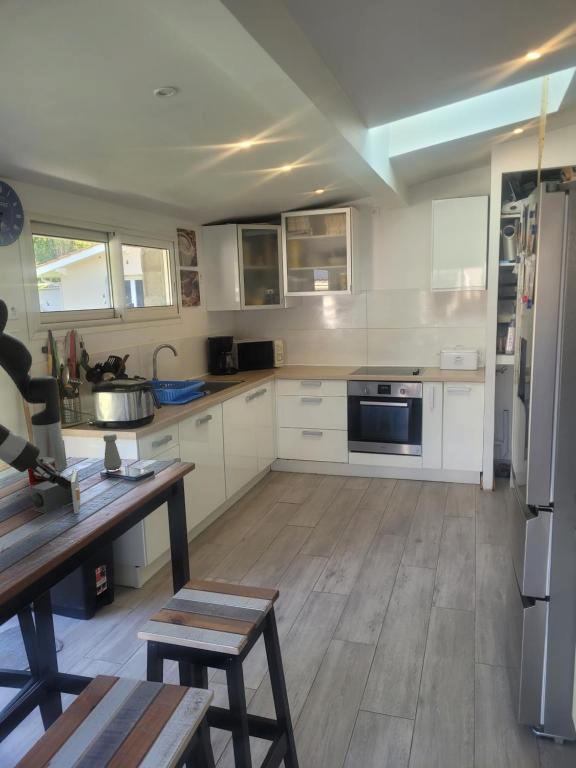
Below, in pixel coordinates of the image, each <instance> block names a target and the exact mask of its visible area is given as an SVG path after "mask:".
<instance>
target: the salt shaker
mask: <svg viewBox="0 0 576 768" xmlns="http://www.w3.org/2000/svg"><path fill="white" fill-rule="evenodd" d="M117 438H118V436H117V434H116V433H114V432H112V433H111V432H110V433H105V434H104V435H103V442H105V447H104V448H105V449H104V460H103V461H104V463H103V465H104V466H103V467H104V468H105V470H106V471H107V470H116V469H119V468H120V469H121V466H122V460H121V456H120V452H119V450H118V447H117V443H116V441H117Z"/></svg>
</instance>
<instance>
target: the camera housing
mask: <svg viewBox="0 0 576 768" xmlns="http://www.w3.org/2000/svg"><path fill="white" fill-rule="evenodd" d="M73 471H77V470H75V469H73V470H72V473H73ZM64 477H65V478H66V479H68V480H69V481H71V480H72V477H68V476H64ZM31 493H32V495H31V501H32V508H33V511H36V512H40V513H43V514H46V515H48V514H50V513H52V512H54V511H57V510H59V509H62V508H64V507H67V506H68V505H71V504H73V496H72V488H71V487H70V488H69V489H67V490H66V489H65V488H63V487H62V486H60V485H59V484H57V483H55V484H53V483H51V482H48V481H46V482H43V483H40V484H38V485H35V486H32V487H31V489H30V494H31Z"/></svg>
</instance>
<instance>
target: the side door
mask: <svg viewBox="0 0 576 768" xmlns="http://www.w3.org/2000/svg"><path fill="white" fill-rule="evenodd" d="M72 471H73V470H72ZM71 478H72V480H71V488H72V496H73V503H72V504H73V512H74V514H79V511H80V505H81V493H80V484H79V475H78V470H76V471H73V472H72V475H71Z"/></svg>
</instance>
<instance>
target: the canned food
mask: <svg viewBox="0 0 576 768" xmlns="http://www.w3.org/2000/svg"><path fill="white" fill-rule="evenodd" d="M42 458H43V459H44V460H46V462H47V463H49V464H50V465H52V466H53V467H54V468H55V461H54V458H51V457H42ZM39 459H40V460H41V458H39ZM55 469H56V468H55ZM27 473H28V481H29V488H30V490H31V487H32V486H35V485H38V484H40V483H43V482H46V480H44V479H41V476H37V475H36V474H34V473H33V470H32V469H31V468H28V469H27ZM30 495H31V496H32V493H31V492H30Z"/></svg>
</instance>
